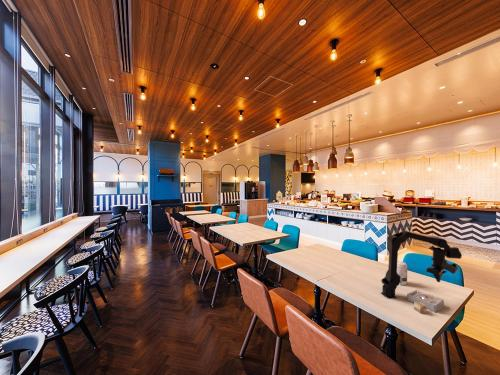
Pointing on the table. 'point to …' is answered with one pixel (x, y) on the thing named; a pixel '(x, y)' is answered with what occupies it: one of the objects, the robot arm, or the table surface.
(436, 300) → the tray
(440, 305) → the housing
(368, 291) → the table surface
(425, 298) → the disc
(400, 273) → the supplement can
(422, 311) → the pedestal
